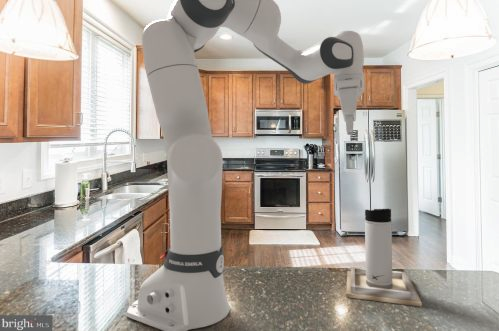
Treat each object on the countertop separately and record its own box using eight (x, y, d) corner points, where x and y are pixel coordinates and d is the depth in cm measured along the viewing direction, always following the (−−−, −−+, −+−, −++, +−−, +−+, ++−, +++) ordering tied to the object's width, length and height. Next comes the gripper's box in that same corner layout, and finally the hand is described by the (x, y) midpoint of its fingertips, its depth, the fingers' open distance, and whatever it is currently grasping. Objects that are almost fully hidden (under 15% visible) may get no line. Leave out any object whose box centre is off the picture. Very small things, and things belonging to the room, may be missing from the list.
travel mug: (377, 292, 72) (376, 209, 72) (361, 281, 78) (359, 206, 78) (399, 288, 73) (398, 208, 73) (381, 279, 80) (379, 205, 80)
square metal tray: (346, 297, 71) (346, 287, 71) (347, 273, 86) (347, 265, 86) (421, 306, 66) (421, 296, 66) (409, 279, 81) (408, 271, 81)
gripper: (339, 96, 101) (340, 136, 101) (336, 80, 82) (337, 130, 82) (359, 94, 99) (360, 135, 99) (360, 78, 80) (361, 129, 80)
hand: (349, 133), depth 90 cm, fingers open, 8 cm apart
